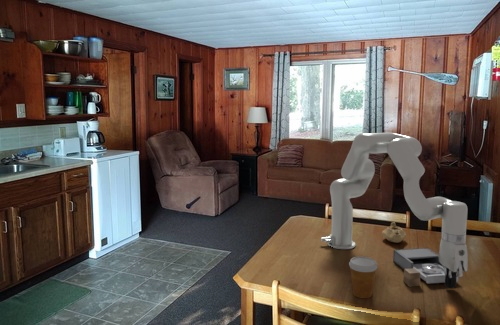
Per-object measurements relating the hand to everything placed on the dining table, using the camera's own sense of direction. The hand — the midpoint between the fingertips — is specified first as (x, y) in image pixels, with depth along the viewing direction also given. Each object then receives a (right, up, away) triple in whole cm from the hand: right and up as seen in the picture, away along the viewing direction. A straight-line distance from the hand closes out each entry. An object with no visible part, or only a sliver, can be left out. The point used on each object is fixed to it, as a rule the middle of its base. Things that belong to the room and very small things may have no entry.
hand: (450, 286), depth 141 cm
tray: (-1, +1, +11) cm, 11 cm away
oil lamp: (-1, +6, +50) cm, 51 cm away
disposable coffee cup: (-32, -2, -3) cm, 32 cm away
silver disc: (-2, +2, +12) cm, 12 cm away
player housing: (-3, +2, +20) cm, 20 cm away
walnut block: (-12, 0, +5) cm, 13 cm away
